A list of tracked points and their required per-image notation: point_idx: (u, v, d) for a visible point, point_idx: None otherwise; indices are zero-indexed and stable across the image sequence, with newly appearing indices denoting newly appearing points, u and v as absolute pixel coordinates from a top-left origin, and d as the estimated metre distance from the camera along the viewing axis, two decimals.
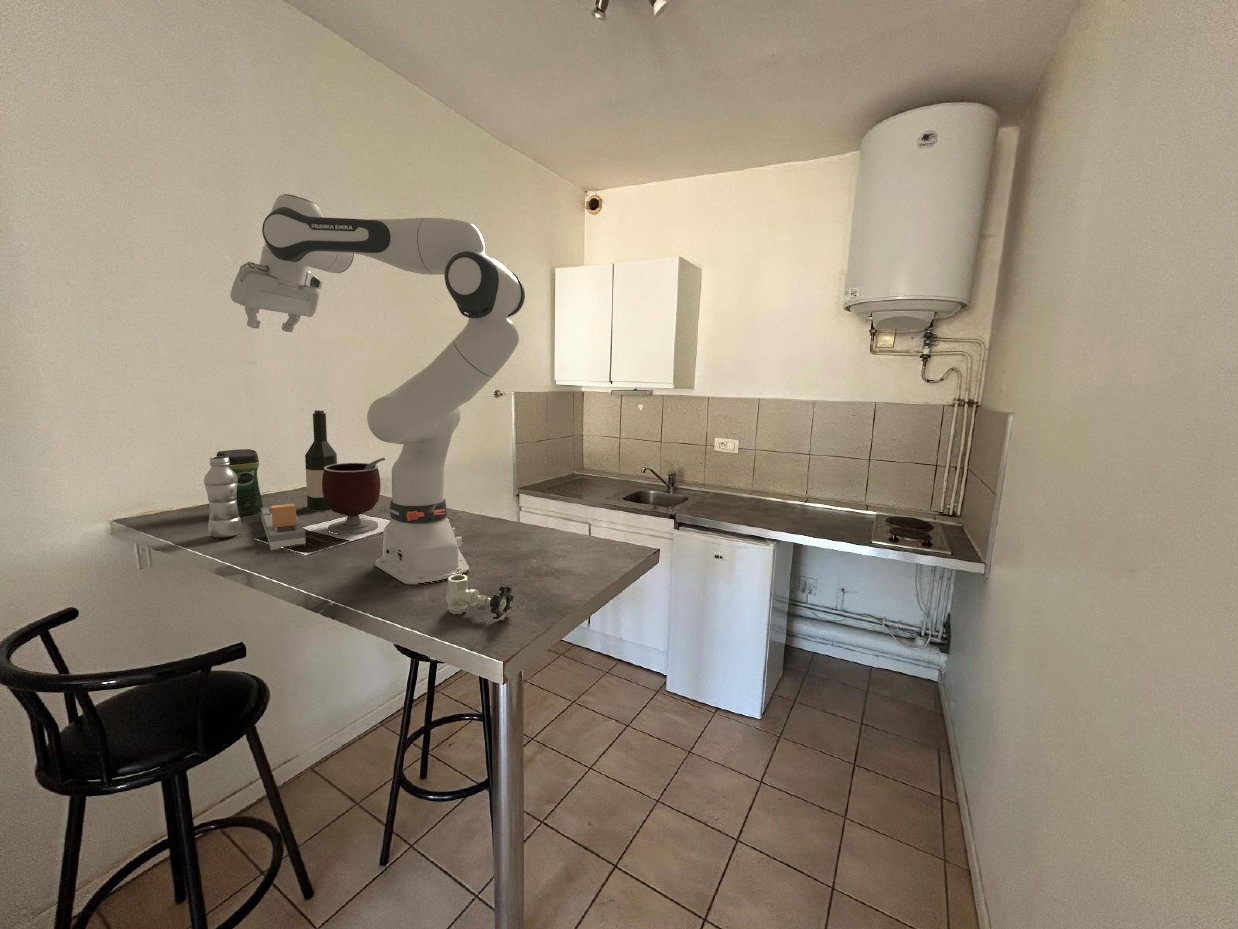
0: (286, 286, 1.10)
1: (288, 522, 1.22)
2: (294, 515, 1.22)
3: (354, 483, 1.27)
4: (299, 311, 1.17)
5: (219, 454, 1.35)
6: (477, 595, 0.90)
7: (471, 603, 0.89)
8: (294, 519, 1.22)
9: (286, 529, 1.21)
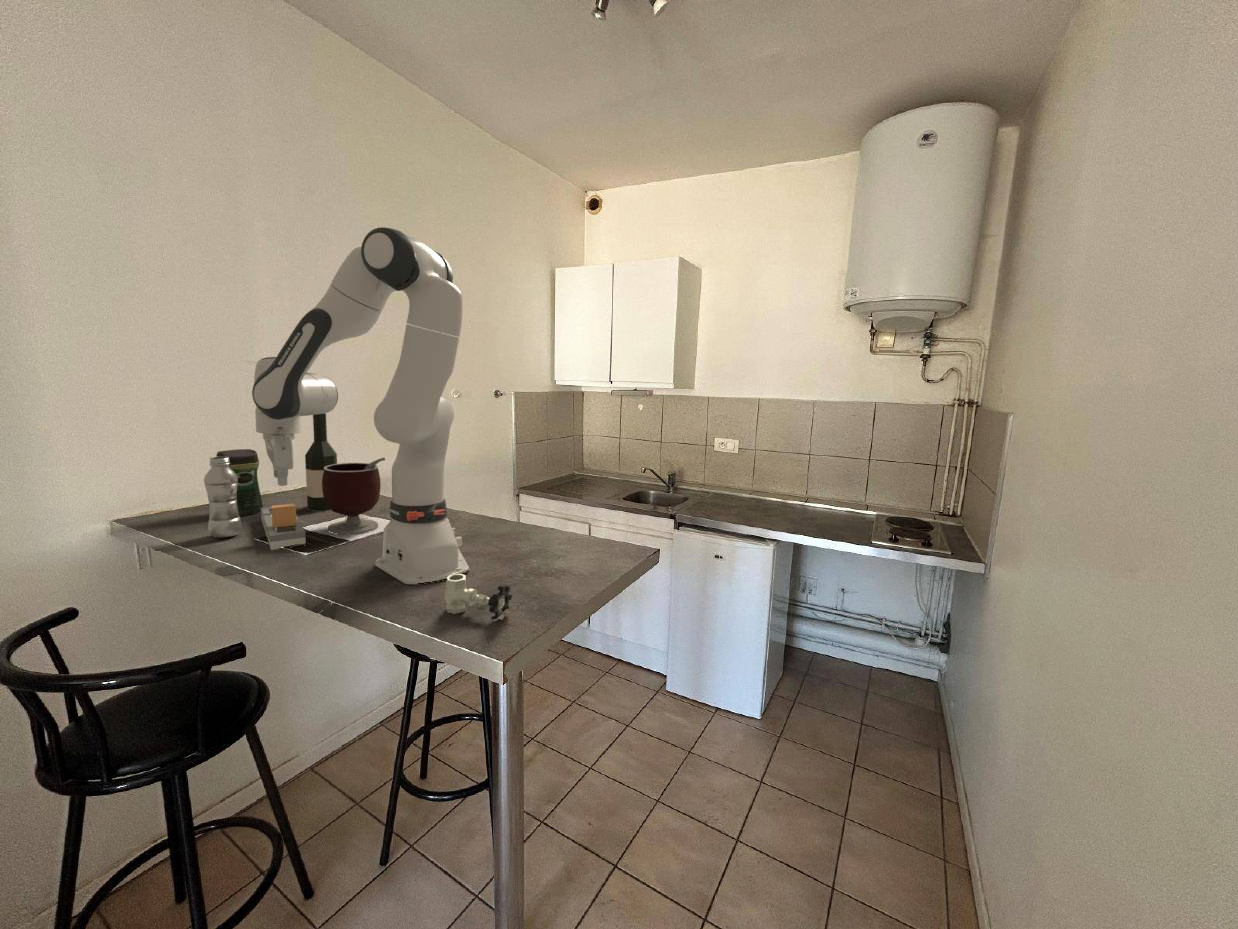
0: (293, 438, 1.19)
1: (288, 522, 1.22)
2: (294, 515, 1.22)
3: (354, 483, 1.27)
4: None
5: (219, 454, 1.35)
6: (476, 594, 0.90)
7: (470, 602, 0.89)
8: (294, 519, 1.22)
9: (286, 529, 1.21)
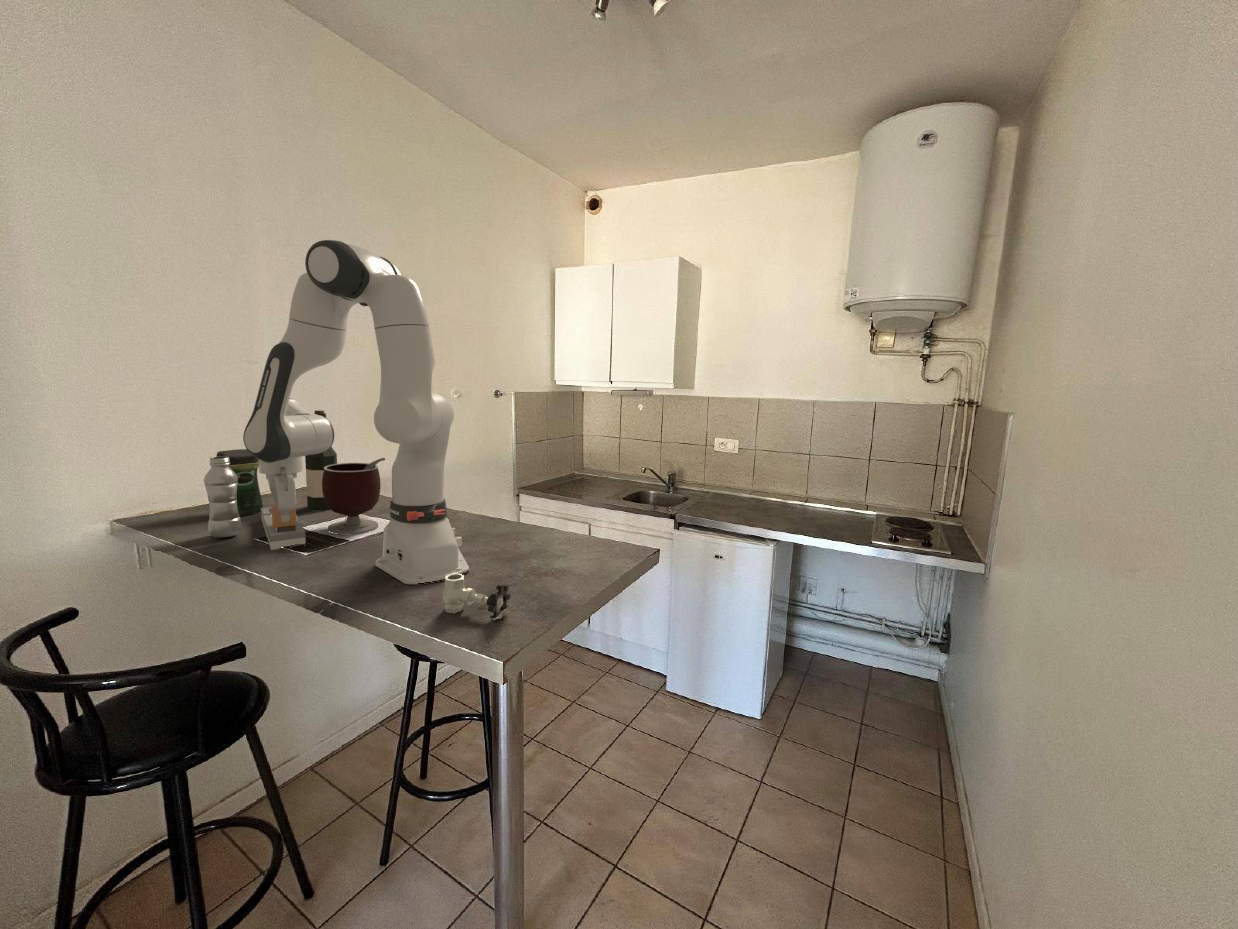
0: (296, 476, 1.21)
1: (288, 522, 1.22)
2: (294, 515, 1.22)
3: (354, 483, 1.27)
4: None
5: (219, 454, 1.35)
6: (474, 594, 0.90)
7: (468, 602, 0.90)
8: (294, 519, 1.22)
9: (286, 529, 1.21)
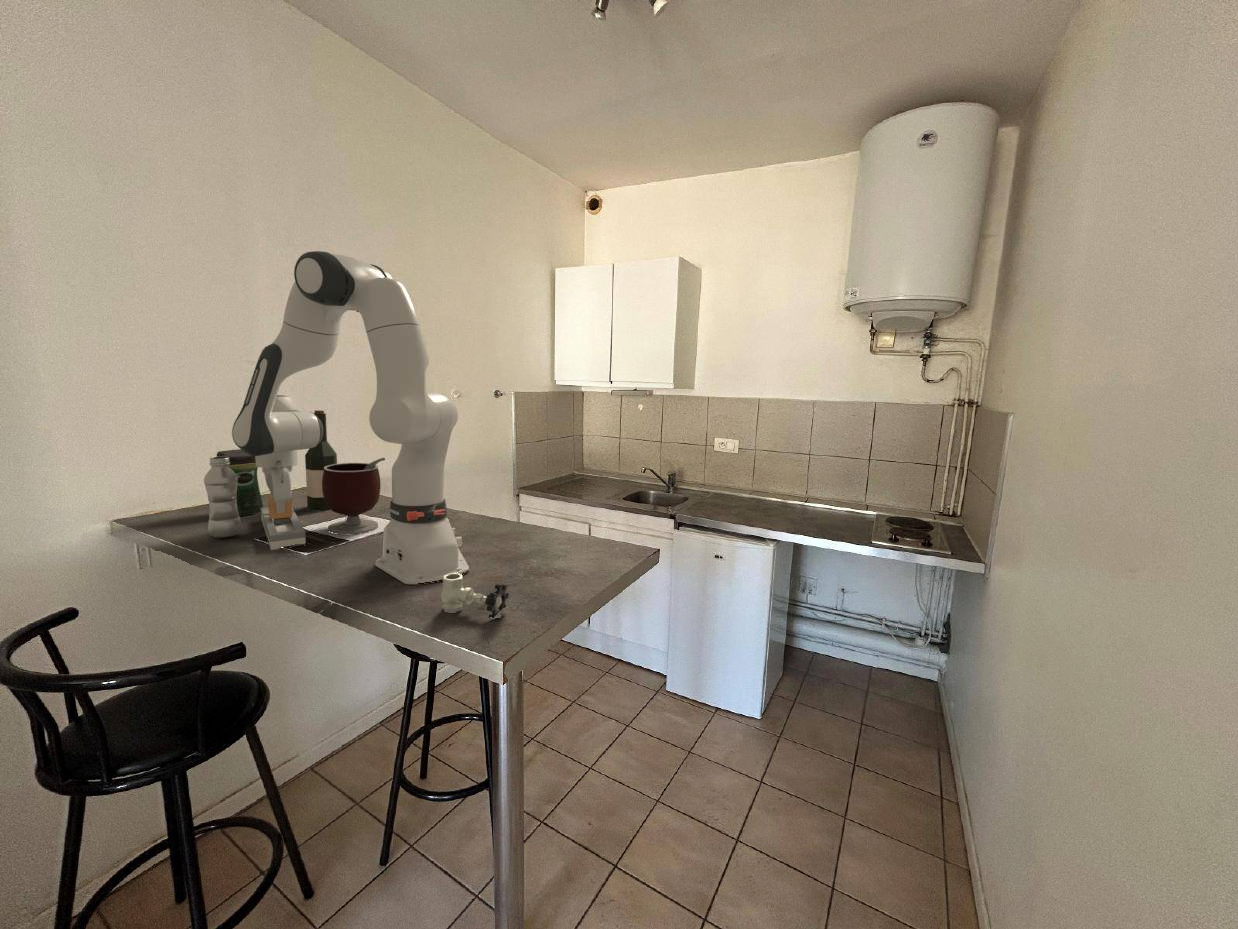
0: (291, 470, 1.27)
1: (284, 514, 1.28)
2: (290, 507, 1.28)
3: (354, 483, 1.27)
4: None
5: (219, 454, 1.35)
6: (472, 593, 0.90)
7: (466, 601, 0.90)
8: (290, 511, 1.28)
9: (282, 520, 1.27)
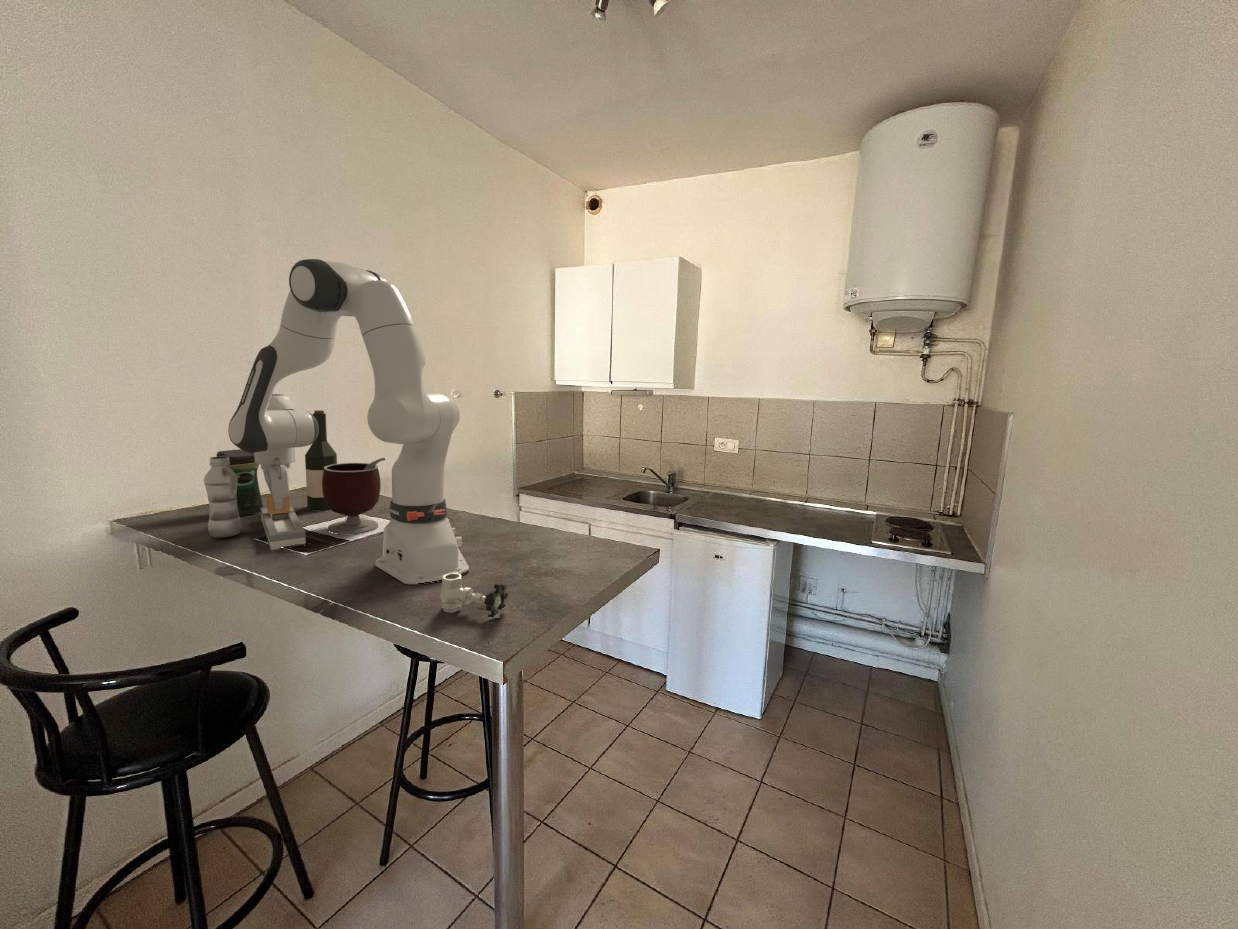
0: (288, 467, 1.30)
1: (282, 510, 1.31)
2: (288, 503, 1.32)
3: (354, 483, 1.27)
4: None
5: (219, 454, 1.35)
6: (472, 593, 0.90)
7: (466, 601, 0.90)
8: (288, 507, 1.32)
9: (280, 516, 1.31)
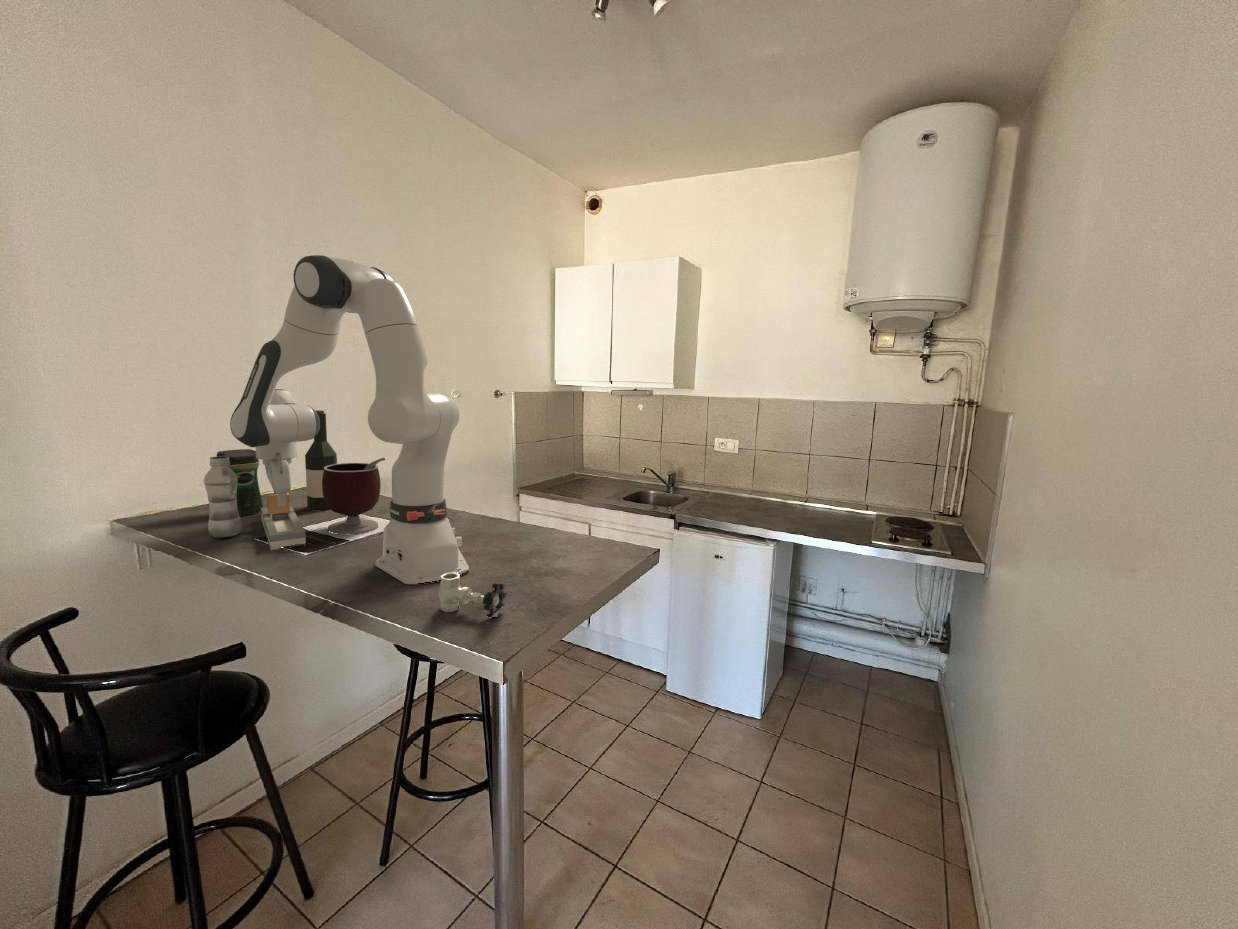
0: (290, 462, 1.30)
1: (282, 510, 1.31)
2: (288, 503, 1.32)
3: (354, 483, 1.27)
4: None
5: (219, 454, 1.35)
6: (470, 593, 0.91)
7: (464, 601, 0.90)
8: (288, 507, 1.32)
9: (280, 516, 1.31)
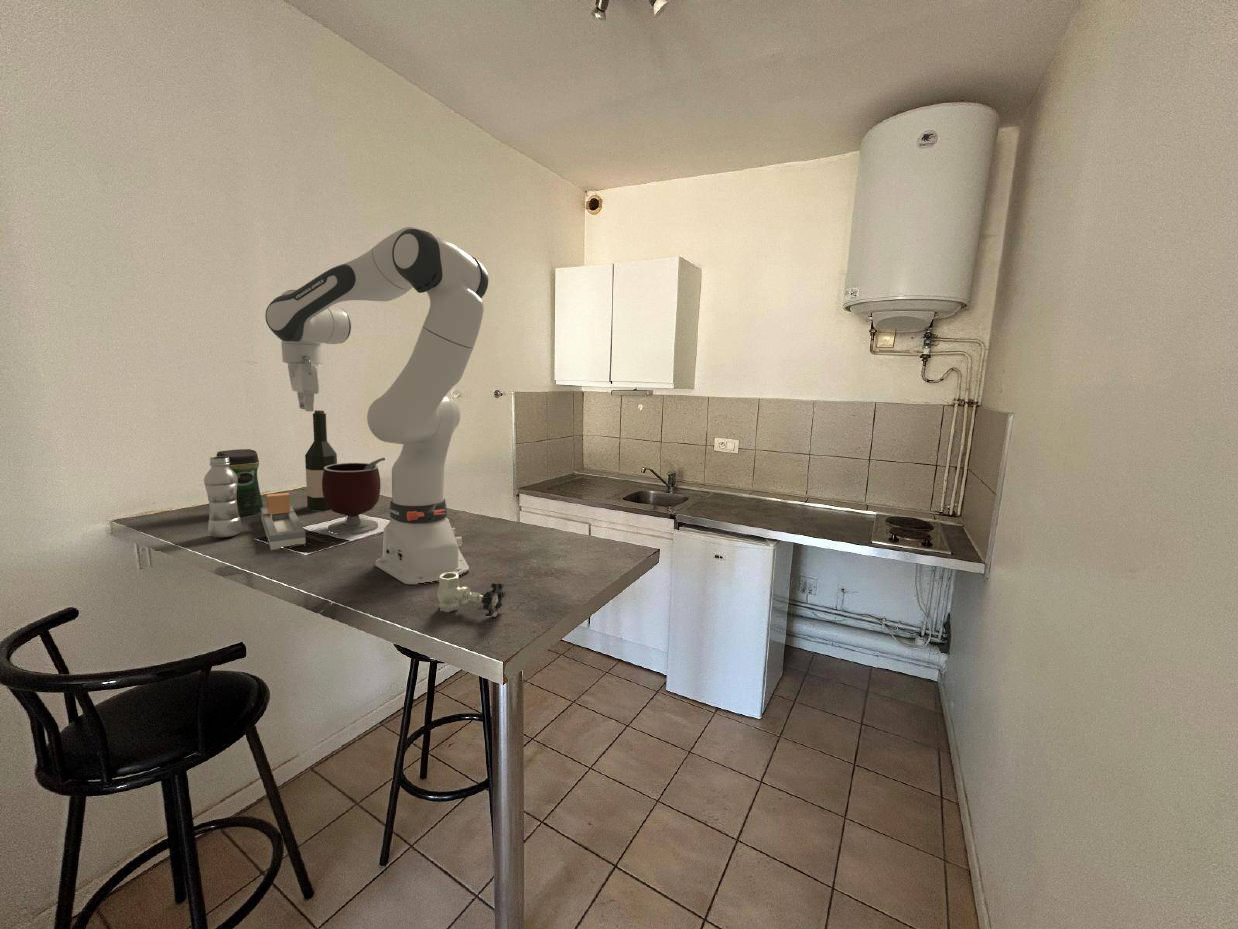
0: (317, 369, 1.28)
1: (282, 510, 1.31)
2: (288, 503, 1.32)
3: (354, 483, 1.27)
4: None
5: (219, 454, 1.35)
6: (469, 592, 0.91)
7: (463, 600, 0.90)
8: (288, 507, 1.32)
9: (280, 516, 1.31)
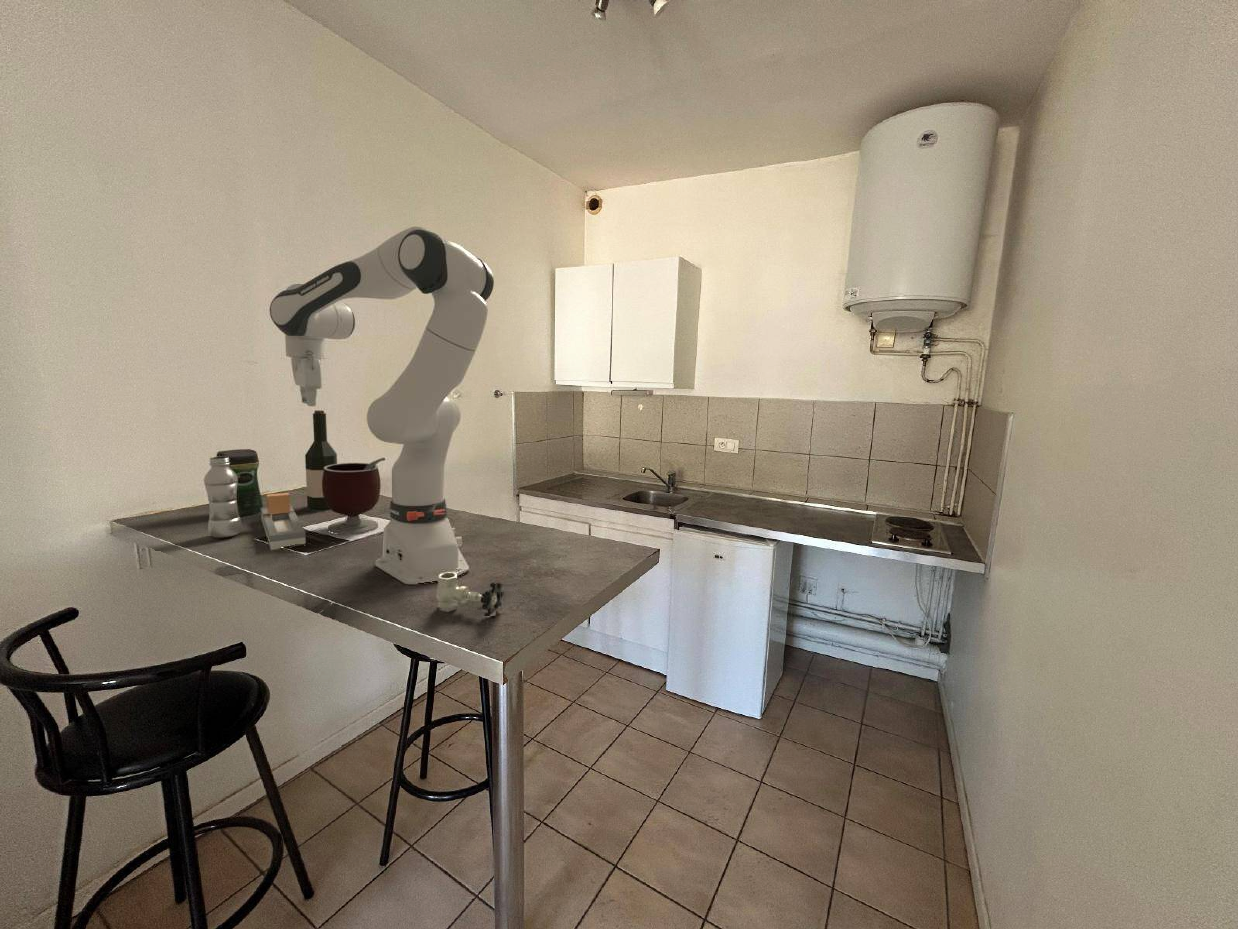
0: (320, 363, 1.27)
1: (282, 510, 1.31)
2: (288, 503, 1.32)
3: (354, 483, 1.27)
4: None
5: (219, 454, 1.35)
6: (468, 592, 0.91)
7: (462, 600, 0.90)
8: (288, 507, 1.32)
9: (280, 516, 1.31)
